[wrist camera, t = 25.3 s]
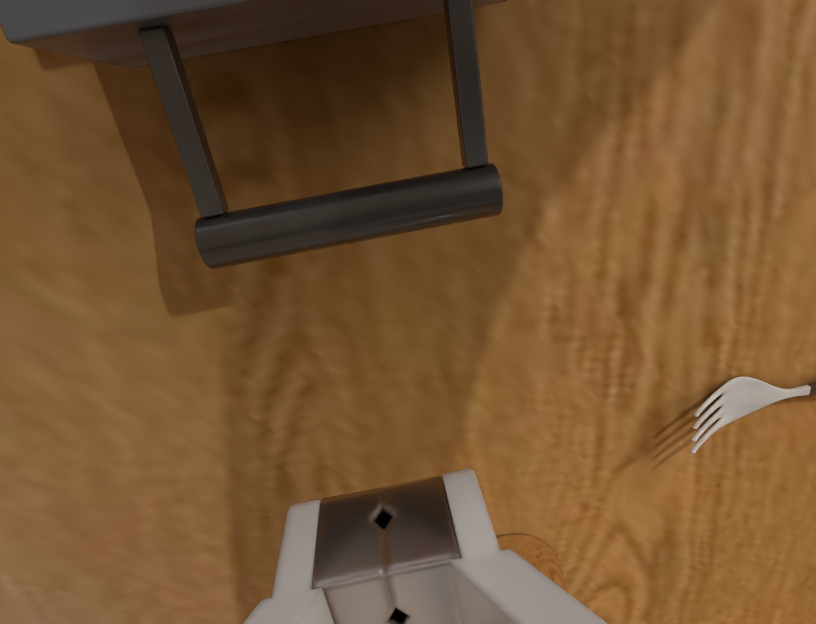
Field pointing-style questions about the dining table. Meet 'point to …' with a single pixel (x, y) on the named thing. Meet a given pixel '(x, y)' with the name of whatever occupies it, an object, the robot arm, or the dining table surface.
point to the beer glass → (535, 555)
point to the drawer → (258, 25)
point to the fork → (741, 403)
